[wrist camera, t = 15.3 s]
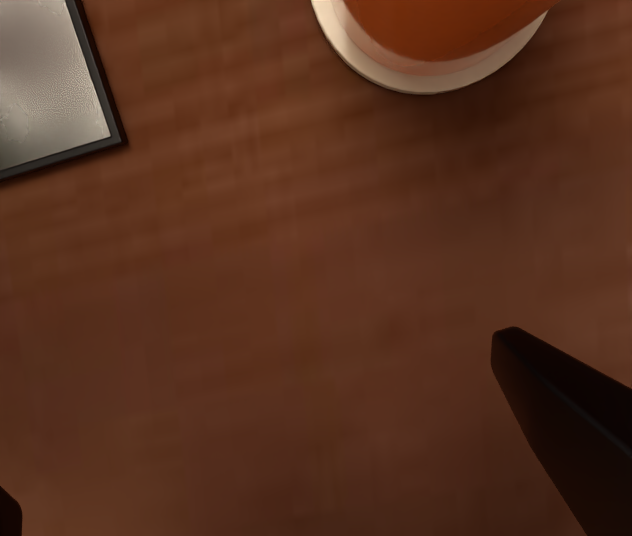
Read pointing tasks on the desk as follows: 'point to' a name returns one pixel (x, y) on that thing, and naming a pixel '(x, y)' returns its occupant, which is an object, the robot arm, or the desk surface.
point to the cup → (435, 30)
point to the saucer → (407, 81)
